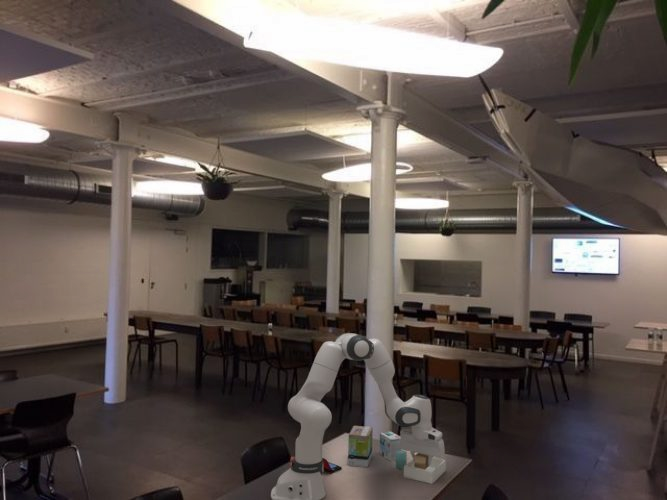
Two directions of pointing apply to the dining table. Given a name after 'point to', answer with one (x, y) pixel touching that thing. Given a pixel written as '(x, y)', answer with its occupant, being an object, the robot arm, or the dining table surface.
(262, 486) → the dining table surface
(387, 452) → the light bulb box
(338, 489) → the dining table surface
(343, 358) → the robot arm
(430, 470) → the grey tote
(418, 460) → the oak cube
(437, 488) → the dining table surface
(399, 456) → the teal cylinder
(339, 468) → the handheld game console
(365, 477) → the dining table surface
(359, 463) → the tea box
